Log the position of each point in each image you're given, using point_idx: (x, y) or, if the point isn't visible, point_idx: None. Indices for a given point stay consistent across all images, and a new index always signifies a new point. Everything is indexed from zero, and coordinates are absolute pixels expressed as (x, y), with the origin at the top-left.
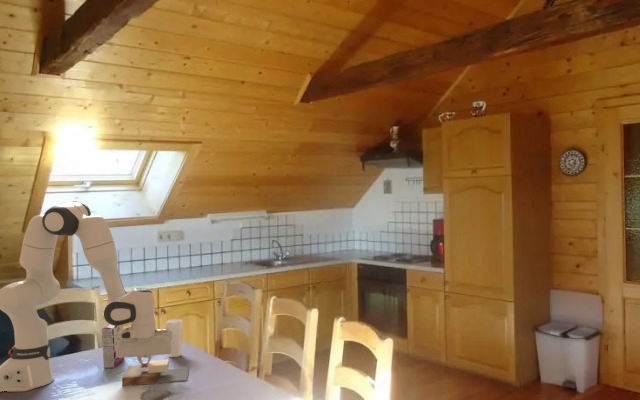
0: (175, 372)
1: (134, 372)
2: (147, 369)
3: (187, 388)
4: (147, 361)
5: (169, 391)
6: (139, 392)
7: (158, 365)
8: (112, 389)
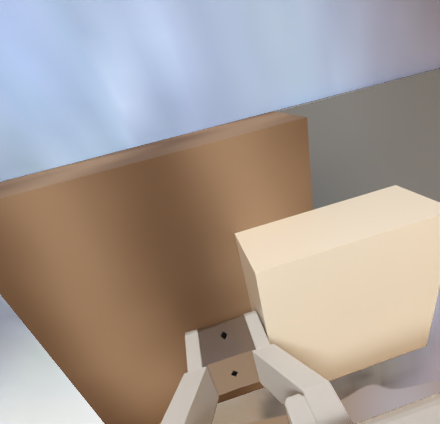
0: (396, 170)
1: (148, 355)
2: (229, 288)
3: (433, 344)
4: (274, 396)
5: (367, 378)
6: (249, 409)
7: (362, 365)
8: (94, 418)
